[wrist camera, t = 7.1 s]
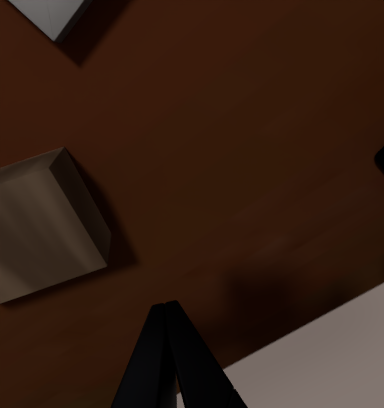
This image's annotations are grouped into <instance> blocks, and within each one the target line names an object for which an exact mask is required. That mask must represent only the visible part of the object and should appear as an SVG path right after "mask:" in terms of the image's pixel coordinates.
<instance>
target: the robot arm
mask: <svg viewBox="0 0 384 408" xmlns="http://www.w3.org/2000/svg"><path fill="white" fill-rule="evenodd" d="M383 156H384V147H383V148H382V149H381V150H380V151H379V152H378V153H377V155H376V161H377V162H378V163H379V164H380V165H381V166H382V168H383V169H384V157H383ZM176 375H177V379H178V383H179V387H180V391H181V395H182V399H183V403H184V407H185V408H248V407H247V406H246V404H245V403H244V402H243V400H242V399H241V397H240V395H239V394H238V392H237V391H236V389H234V387H233V385H232V383H231V382H230V380H229V379H228V377H227V376H226V374H225V373H224V371H223V370H222V368H221V367H220V365H219V364H218V362H217V360H216V359H215V357H214V356H213V354H212V353H211V351H210V350H209V348H208V347H207V345H206V344H205V342H204V341H203V339H202V338H201V336H200V334H199V333H198V331H197V330H196V328H195V327H194V325H193V324H192V322H191V321H190V319H189V318H188V316H187V315H186V313H185V312H184V310H183V308H182V307H181V305H180V304H179V302H178V301H177V300H174V301H170V302H166V303H165V304H164V303H160V304H155V305H153V306H152V307H151V309H150V311H149V314H148V316H147V318H146V321H145V323H144V326H143V328H142V331H141V333H140V336H139V338H138V341H137V343H136V346H135V348H134V351H133V353H132V356H131V358H130V361H129V363H128V365H127V368H126V370H125V373H124V375H123V378H122V380H121V383H120V385H119V388H118V390H117V393H116V395H115V398H114V400H113V403H112V405H111V408H177V396H176Z"/></svg>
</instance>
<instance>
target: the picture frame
mask: <svg viewBox="0 0 384 408" xmlns="http://www.w3.org/2000/svg"><path fill="white" fill-rule="evenodd" d="M9 1H10V2H11V3H12V4H13V5H14V6H15V7H16V8H17V9H19V10H20V11H21V12H22V13H23V14H24V15H25V16H26V17H27V18H28V19H29V20H31V21H32V22H33V23H34V24H35V25H36V26H37V27H38V28H39V29H40V30H42V31H43V32H44V33H45V34H46V35H47V36H48V37H49V38H50V39H51V40H53V41H54V42H58V43H62V41H63V40H64V39H65V37H66V36H67V35H68V33H69V32H70V30H71V29H72V28H73V26H74V25H75V24H76V22H77V21H78V20H79V18H80V17H81V16H82V14H83V13H84V12H85V10H86V9H87V8H88V6H89V5H90V4H91V2H92V1H93V0H9Z"/></svg>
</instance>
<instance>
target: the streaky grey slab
mask: <svg viewBox="0 0 384 408" xmlns="http://www.w3.org/2000/svg"><path fill="white" fill-rule="evenodd" d="M110 241H111V232H110V230H109V228H108V226H107V225H106V223H105V221H104V219H103V217H102V215H101V213H100V212H99V210H98V208H97V206H96V204H95V202H94V201H93V199H92V197H91V195H90V193H89V191H88V189H87V188H86V186H85V184H84V182H83V180H82V178H81V176H80V175H79V173H78V171H77V169H76V167H75V165H74V163H73V162H72V160H71V158H70V156H69V154H68V152H67V150H66V149H65V147H62V148H59V149H56V150H53V151H50V152H47V153H44V154H41V155H38V156H35V157H32V158H29V159H26V160H22V161H19V162H16V163H13V164H10V165H7V166H4V167H1V168H0V304H1V303H4V302H6V301H9V300H12V299H15V298H18V297H21V296H24V295H26V294H29V293H32V292H35V291H38V290H41V289H44V288H47V287H49V286H52V285H55V284H58V283H61V282H64V281H67V280H70V279H72V278H75V277H78V276H81V275H84V274H87V273H90V272H93V271H95V270H98V269H101V268H104V267H107V266H108V258H109V249H110Z"/></svg>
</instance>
